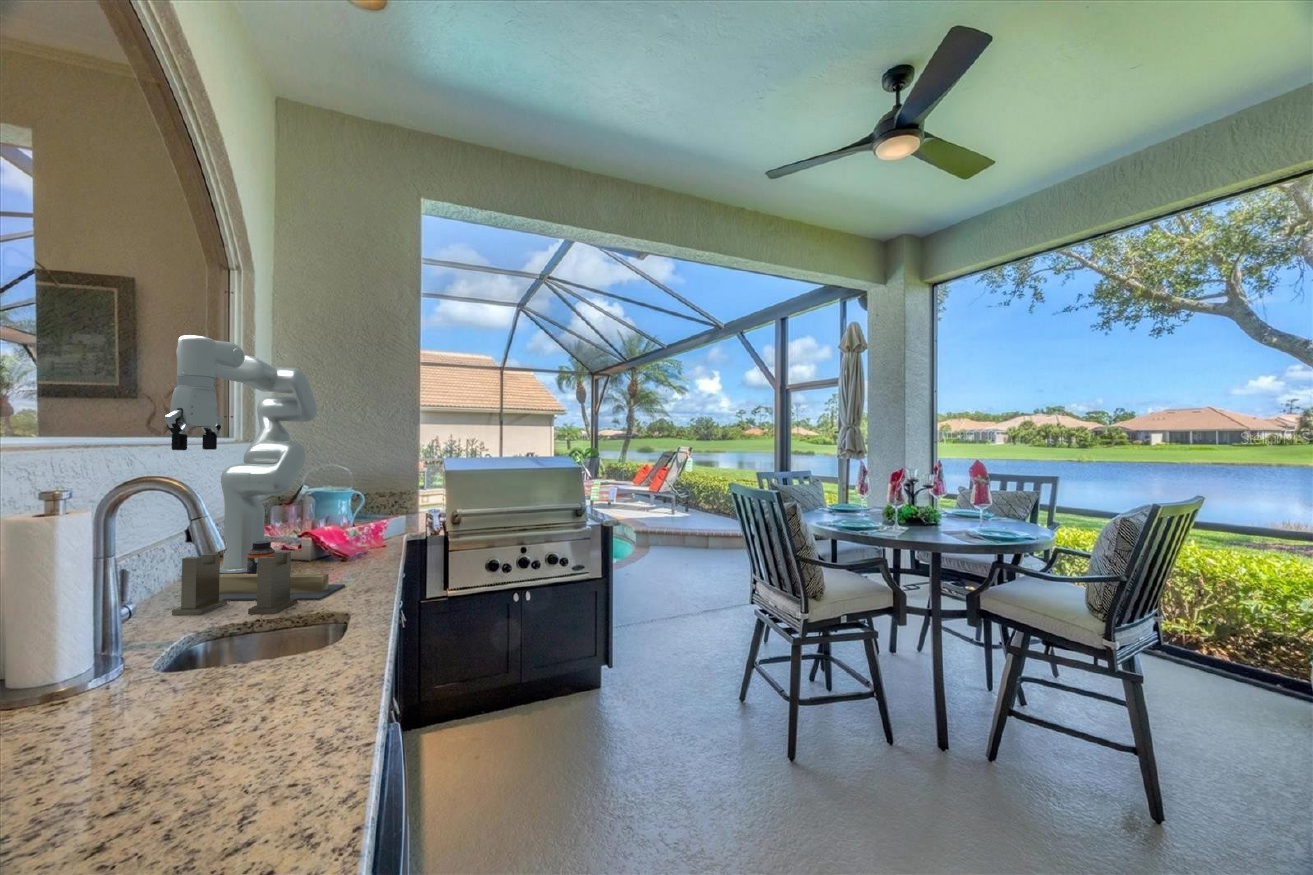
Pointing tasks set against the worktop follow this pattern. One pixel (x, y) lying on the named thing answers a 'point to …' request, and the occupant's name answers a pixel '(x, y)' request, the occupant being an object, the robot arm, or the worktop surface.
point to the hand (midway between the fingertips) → (194, 449)
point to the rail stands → (204, 585)
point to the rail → (249, 583)
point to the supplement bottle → (258, 555)
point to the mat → (300, 596)
